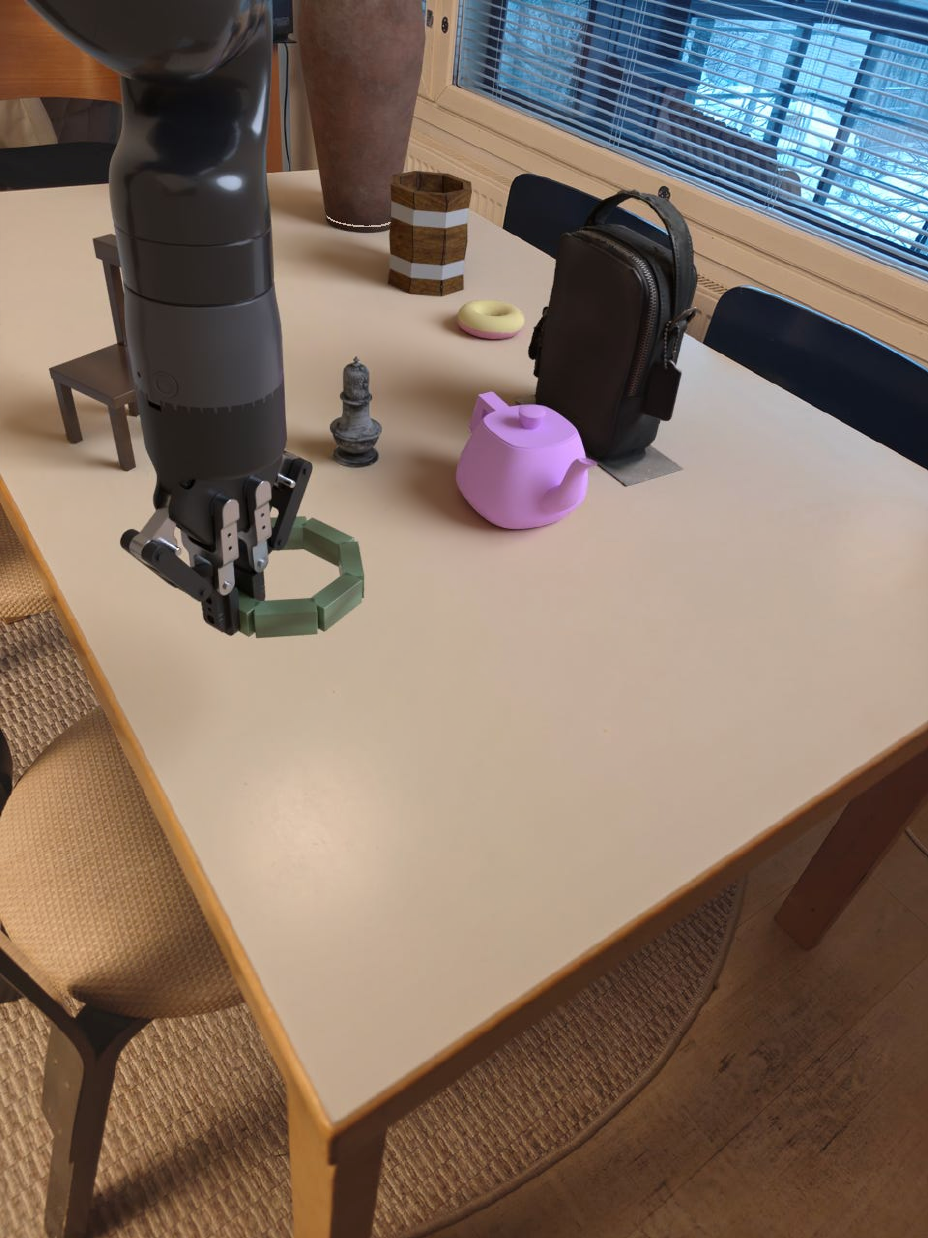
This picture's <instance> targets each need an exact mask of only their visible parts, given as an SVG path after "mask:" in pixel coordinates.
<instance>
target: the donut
mask: <svg viewBox="0 0 928 1238" xmlns="http://www.w3.org/2000/svg"><path fill="white" fill-rule="evenodd" d="M456 317H457V318H456V319H457V323H458V325H459V327H460V328H461V330H463V331H464V332H465V333H467V334H469V335H472V336H473V337H478V338H482V339H487V340H488V339H489V340H504V339H505V340H506V339H510V338H513V337H515V336H517V335H519V333H520V332H522V331H523V329H524V327H525V316H524V313H522V311H521V310H520V309H519V308H518V307H516V306H515V305H513V304H511V303H508V302H506V301H501V300H495V299H476V300H472V301H469V302H467V303H464V304H463V305H462V306H461V307H459V310H458V312H457V315H456Z"/></svg>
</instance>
